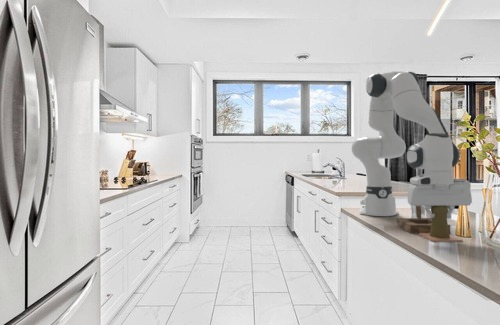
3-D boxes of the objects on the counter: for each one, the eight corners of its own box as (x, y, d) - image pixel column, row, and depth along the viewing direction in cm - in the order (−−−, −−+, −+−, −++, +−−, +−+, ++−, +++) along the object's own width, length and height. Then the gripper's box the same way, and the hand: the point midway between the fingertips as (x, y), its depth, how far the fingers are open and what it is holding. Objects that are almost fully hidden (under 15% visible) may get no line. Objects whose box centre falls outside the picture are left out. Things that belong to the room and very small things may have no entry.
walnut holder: (397, 225, 133) (397, 218, 133) (432, 225, 132) (431, 218, 132) (410, 233, 119) (410, 225, 119) (450, 233, 118) (450, 225, 118)
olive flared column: (452, 238, 108) (452, 206, 108) (432, 237, 109) (432, 206, 109) (446, 234, 114) (445, 203, 114) (427, 233, 115) (427, 203, 115)
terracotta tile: (418, 234, 117) (418, 232, 117) (447, 234, 116) (447, 232, 116) (431, 241, 107) (431, 239, 107) (462, 241, 106) (462, 239, 106)
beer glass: (430, 221, 139) (430, 187, 139) (423, 223, 135) (422, 188, 135) (414, 219, 145) (413, 186, 145) (406, 221, 141) (406, 187, 140)
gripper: (464, 178, 114) (465, 216, 114) (405, 178, 115) (406, 216, 116) (475, 179, 107) (476, 219, 107) (412, 180, 109) (413, 220, 109)
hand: (439, 218), depth 111 cm, fingers closed on olive flared column, 4 cm apart
